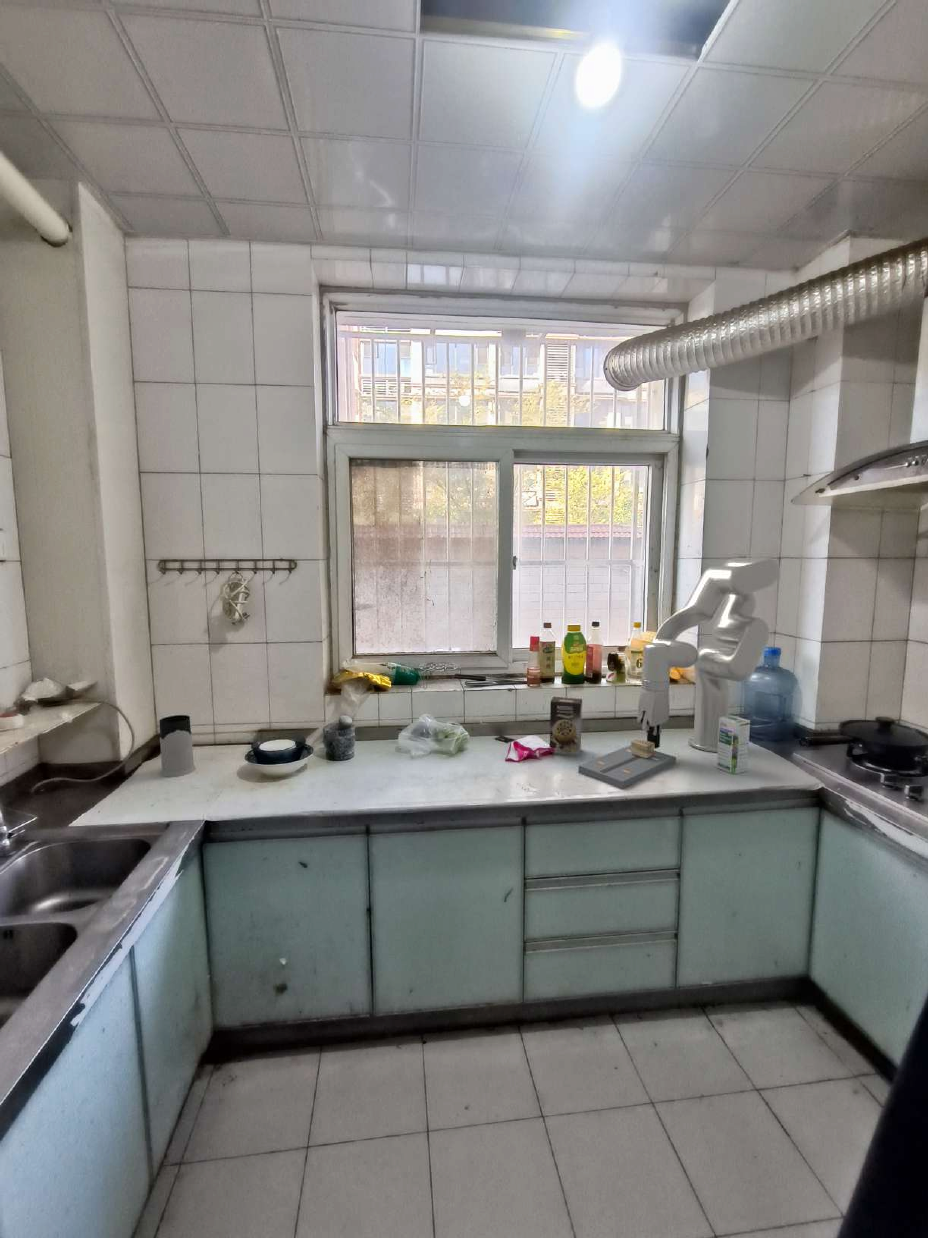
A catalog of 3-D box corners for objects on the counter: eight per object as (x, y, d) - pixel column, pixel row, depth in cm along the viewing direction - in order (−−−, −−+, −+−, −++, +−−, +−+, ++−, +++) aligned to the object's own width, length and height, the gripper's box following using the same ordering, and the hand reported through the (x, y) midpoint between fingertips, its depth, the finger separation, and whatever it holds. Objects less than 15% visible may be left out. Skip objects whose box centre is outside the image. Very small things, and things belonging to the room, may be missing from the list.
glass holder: (162, 779, 145) (158, 725, 143) (155, 764, 156) (152, 713, 154) (198, 772, 150) (195, 719, 148) (189, 757, 161) (186, 708, 160)
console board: (632, 750, 164) (633, 743, 164) (676, 763, 153) (676, 756, 153) (578, 772, 147) (578, 765, 147) (622, 789, 137) (622, 781, 136)
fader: (638, 750, 158) (639, 738, 157) (654, 755, 154) (654, 743, 153) (630, 753, 155) (631, 741, 155) (646, 758, 151) (646, 746, 151)
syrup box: (715, 767, 150) (718, 717, 148) (729, 764, 153) (732, 714, 151) (734, 775, 145) (736, 722, 143) (748, 771, 148) (751, 719, 146)
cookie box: (548, 753, 162) (549, 701, 160) (551, 746, 168) (552, 695, 166) (579, 756, 159) (580, 703, 158) (581, 749, 165) (582, 697, 164)
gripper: (657, 679, 163) (655, 738, 165) (629, 687, 154) (627, 749, 156) (681, 684, 158) (678, 744, 160) (652, 692, 148) (650, 756, 150)
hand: (653, 746), depth 158 cm, fingers closed
